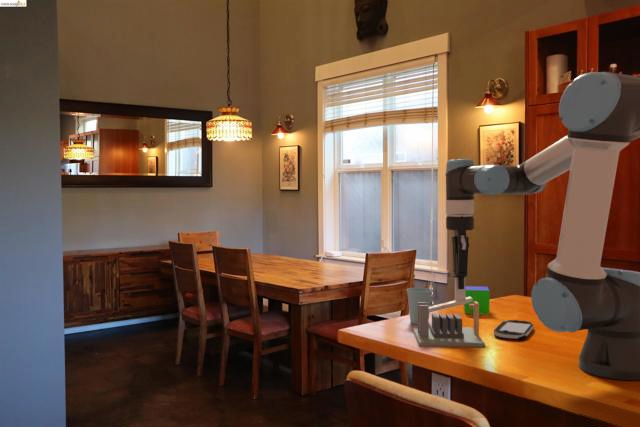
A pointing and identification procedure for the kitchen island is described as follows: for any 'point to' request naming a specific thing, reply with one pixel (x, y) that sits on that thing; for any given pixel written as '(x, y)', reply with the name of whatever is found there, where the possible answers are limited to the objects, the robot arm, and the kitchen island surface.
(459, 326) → the grey slotted rack
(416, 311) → the cup
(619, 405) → the kitchen island surface
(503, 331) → the gaming console
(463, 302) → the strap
